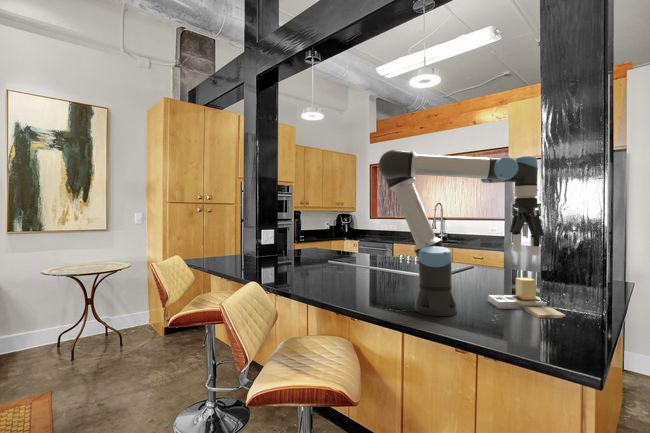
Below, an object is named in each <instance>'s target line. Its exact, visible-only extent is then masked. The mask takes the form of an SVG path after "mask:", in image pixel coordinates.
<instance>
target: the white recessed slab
mask: <svg viewBox="0 0 650 433" xmlns="http://www.w3.org/2000/svg"><path fill="white" fill-rule="evenodd" d="M540 298H541V297H540V296H537V295H536V301H519V300H517V299H516V294H510V295H509V294H495V295H494V294H488V295H487V302H489V304H491V305H492V306H494V307H496V308H497V309H498V310H499V309H501V310H505V309H509V310H510V309H511V310H514V309H515V310H524V307H542V306H544V305H546V304H547V302H543V301H541V299H540Z"/></svg>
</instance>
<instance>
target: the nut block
mask: <svg viewBox="0 0 650 433" xmlns="http://www.w3.org/2000/svg"><path fill="white" fill-rule="evenodd" d="M515 295H516V299H517V300H519V301H536V296H537V280H535V279H534V278H530V277H515Z"/></svg>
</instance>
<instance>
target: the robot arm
mask: <svg viewBox="0 0 650 433" xmlns="http://www.w3.org/2000/svg"><path fill="white" fill-rule="evenodd" d="M538 166H539V164H538V158H537V157H536V156H534V155H525V156H517V157H516V158H513V157H511V156H504V157H501V158H500V157H499V158H498V157H497V158H496V157H477V156H474V157H473V156H457V155H456V156H454V155H453V156H452V155H437V154H436V155H435V154H417V152H415V151H410V150H409V151H408V150H398V149H391V150H388V151H385V152H383V154H382V155H381V156H380V158H379V162H378V169H379V172H380V173H381V175H382V176H383V177H384V179H385V181H386V184H387V187H388V189H389V190H390V191H392V192H394V194H395V197H396V199H397V202H398V205H399V207H400V208H401V211H402V214H403V216H404V219H405V221H406V223H407V226H408V228H409V231H410V233H411V236H412V238H413V240H414V244H415V246H414V247H413V250H414V253H415V255H416V258H417V260H418V292H417V295H416V298H415V302H414V311H416V312H417V313H419V314H422V315H425V316H433V317H448V316H449V317H450V316H454V315H456V314H457V313H458V305H457V303H456V299H455V297H454V294H453V289H452V286H453V284H452V278H453V277H452V275H453V274H452V260H453V257H452V256H453V255H452V252H451V250H450V249H449V248H447V247H445V245H444V243H443V241H442V239H441V238H439V237H437V236H436V234H435V232H434V230H433V227H432V225H431V222H430V220H429V218H428V215H427V213H426V210H425V207H424V206H423V203H422V200H421V198H420V196H419V193H418V191H417V189H416V187H415V183H414V182H415V180H416V177H415V176H432V177H450V178H464V179H465V178H468V179H480V181H481V183H484V184H485V183H486V184H493V183H494V184H495V183H514V187H513V188H514V193H513V194H514V197H515V198H514V208H517V209H515V210H513V217H512V221H511V226H510V229H509V233H511V234H512V252H521V251H522V233H521V232H522V230H523V227H524V225H525V224H526V225H527V228H528V230H529V232H530V256H540V238H541V237H543V236H544V235H545V234H544V230H543V227H542V222H541V219H540V211H539V210H538V209H535V208H537V207H538V191H539V189H538V170H539V167H538Z"/></svg>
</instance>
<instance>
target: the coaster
mask: <svg viewBox="0 0 650 433" xmlns="http://www.w3.org/2000/svg"><path fill="white" fill-rule="evenodd" d="M550 307H551V306H550ZM550 307H524V309H523V310H524V311H525V312H527V313H528V314H530V315H532V316H534V317H535V318H537V319H538V318H539V319H564V318H563V317H566V318H567V316H566V314H565V313H563V312H561V311H559V310H557V309H554V308H553V307H551V308H550Z"/></svg>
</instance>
